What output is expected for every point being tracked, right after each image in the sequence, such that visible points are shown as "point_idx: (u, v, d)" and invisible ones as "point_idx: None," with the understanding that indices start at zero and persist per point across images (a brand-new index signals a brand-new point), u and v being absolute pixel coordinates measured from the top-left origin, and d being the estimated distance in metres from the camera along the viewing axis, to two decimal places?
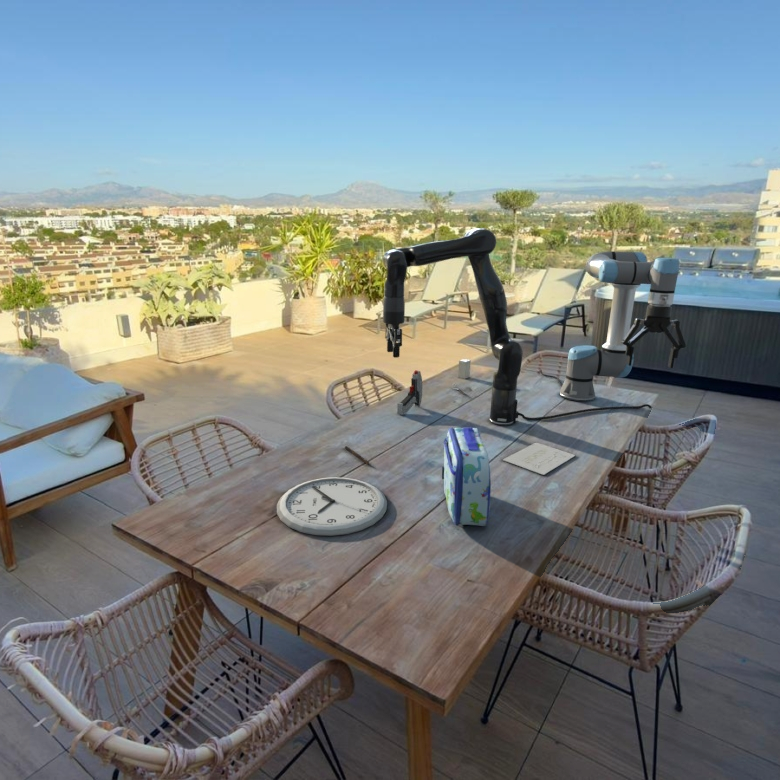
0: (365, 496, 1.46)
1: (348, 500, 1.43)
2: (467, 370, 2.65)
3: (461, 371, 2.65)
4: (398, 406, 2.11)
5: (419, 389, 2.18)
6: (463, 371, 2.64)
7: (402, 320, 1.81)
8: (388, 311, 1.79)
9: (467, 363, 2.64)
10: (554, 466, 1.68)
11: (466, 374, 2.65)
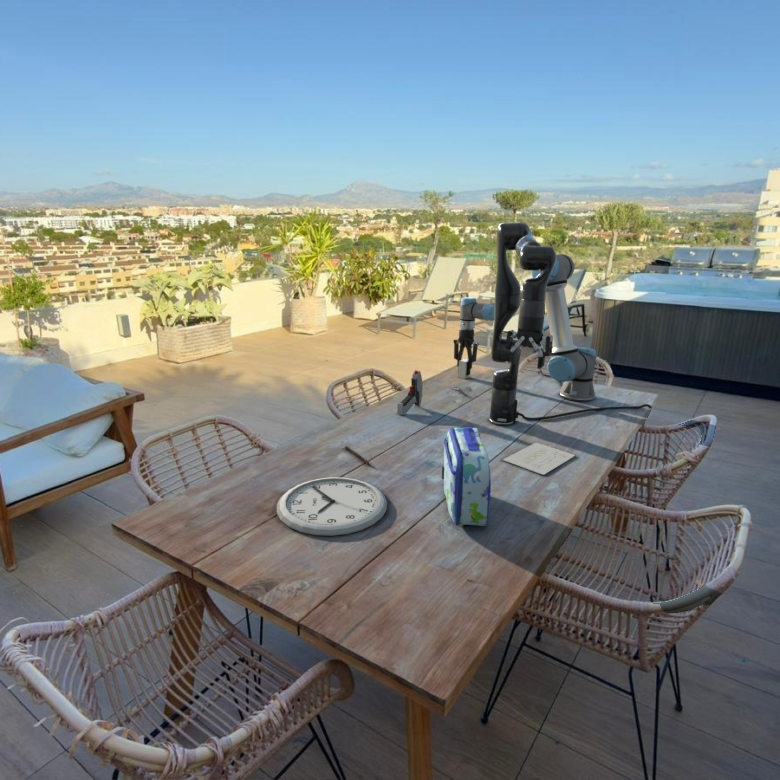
0: (365, 496, 1.46)
1: (348, 500, 1.43)
2: None
3: (461, 371, 2.65)
4: (398, 406, 2.11)
5: (419, 389, 2.18)
6: (463, 371, 2.64)
7: (518, 325, 1.59)
8: None
9: None
10: (554, 466, 1.68)
11: None
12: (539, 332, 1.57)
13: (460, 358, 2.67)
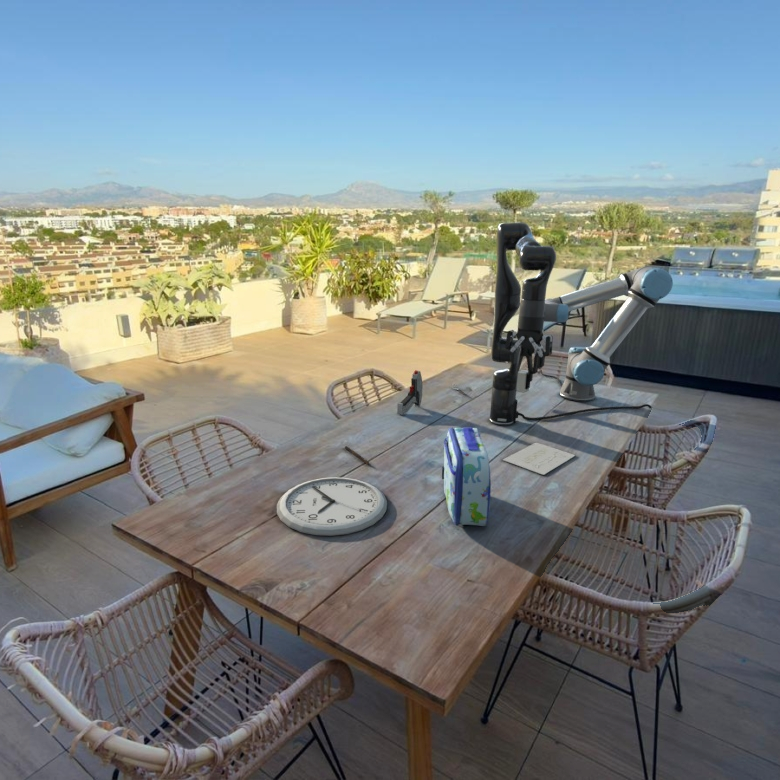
0: (365, 496, 1.46)
1: (348, 500, 1.43)
2: None
3: (519, 384, 2.27)
4: (398, 406, 2.11)
5: (419, 389, 2.18)
6: (522, 384, 2.26)
7: (518, 325, 1.59)
8: None
9: None
10: (554, 466, 1.68)
11: None
12: (539, 332, 1.57)
13: (518, 369, 2.29)
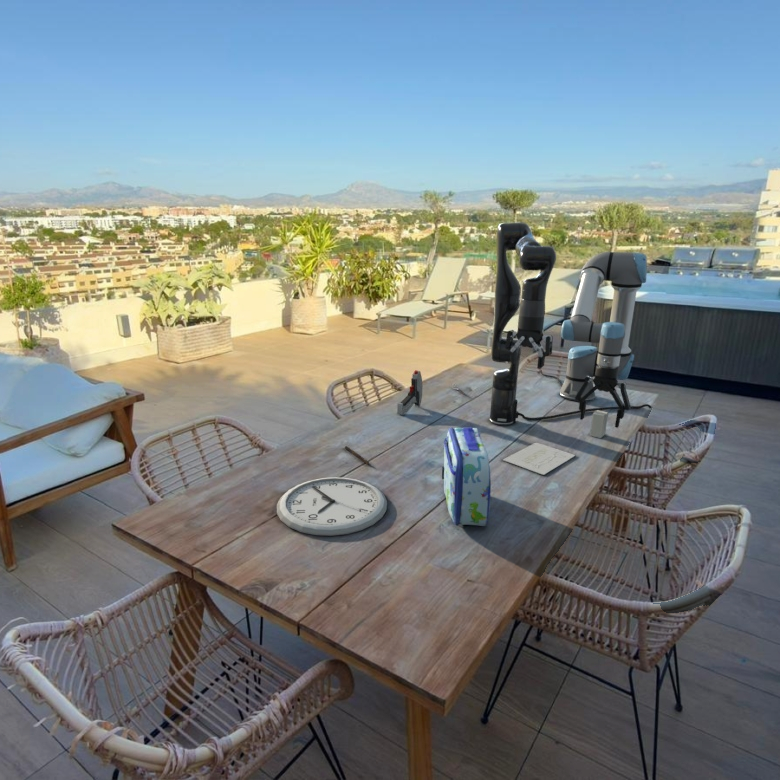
0: (365, 496, 1.46)
1: (348, 500, 1.43)
2: (603, 426, 1.92)
3: (595, 427, 1.92)
4: (398, 406, 2.11)
5: (419, 389, 2.18)
6: (599, 428, 1.91)
7: (518, 325, 1.59)
8: None
9: (605, 417, 1.91)
10: (554, 466, 1.68)
11: (602, 432, 1.92)
12: (539, 332, 1.57)
13: None
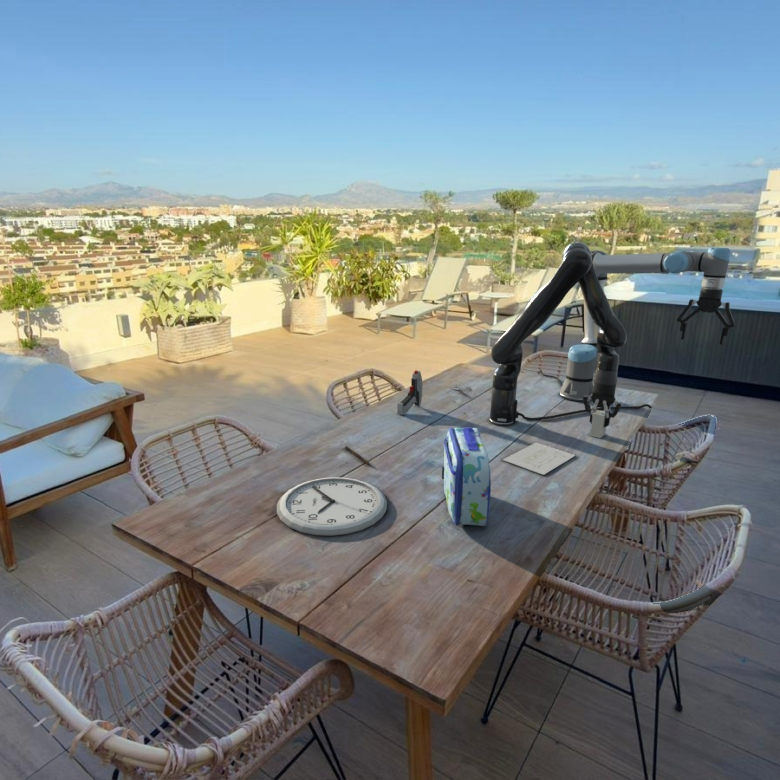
0: (365, 496, 1.46)
1: (348, 500, 1.43)
2: (603, 426, 1.92)
3: (595, 427, 1.92)
4: (398, 406, 2.11)
5: (419, 389, 2.18)
6: (599, 428, 1.91)
7: (594, 390, 1.90)
8: None
9: None
10: (554, 466, 1.68)
11: (602, 432, 1.92)
12: (612, 396, 1.88)
13: None
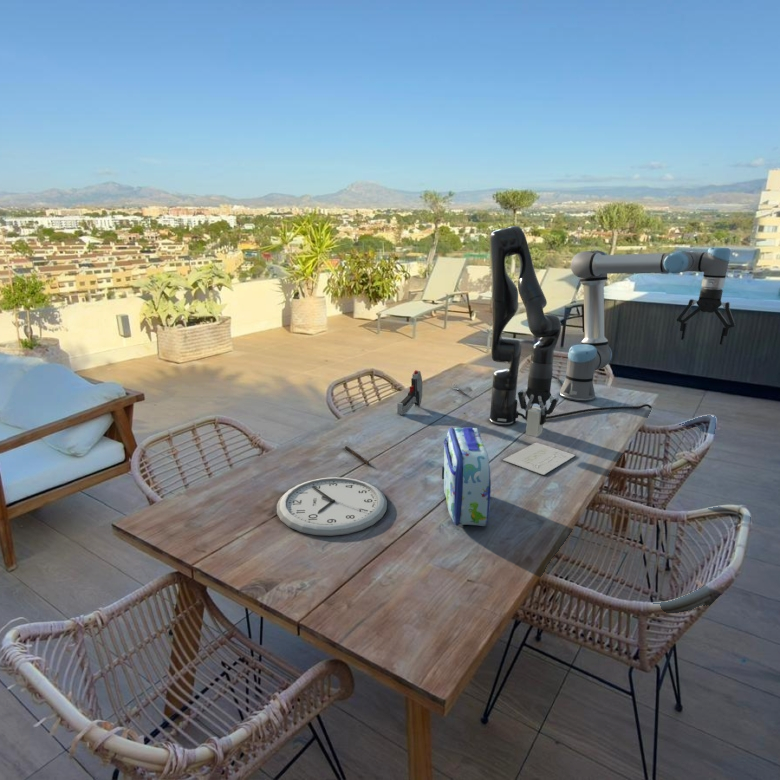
0: (365, 496, 1.46)
1: (348, 500, 1.43)
2: None
3: (531, 425, 1.78)
4: (398, 406, 2.11)
5: (419, 389, 2.18)
6: (535, 426, 1.77)
7: (528, 385, 1.75)
8: None
9: None
10: (554, 466, 1.68)
11: (538, 431, 1.78)
12: (547, 391, 1.73)
13: None
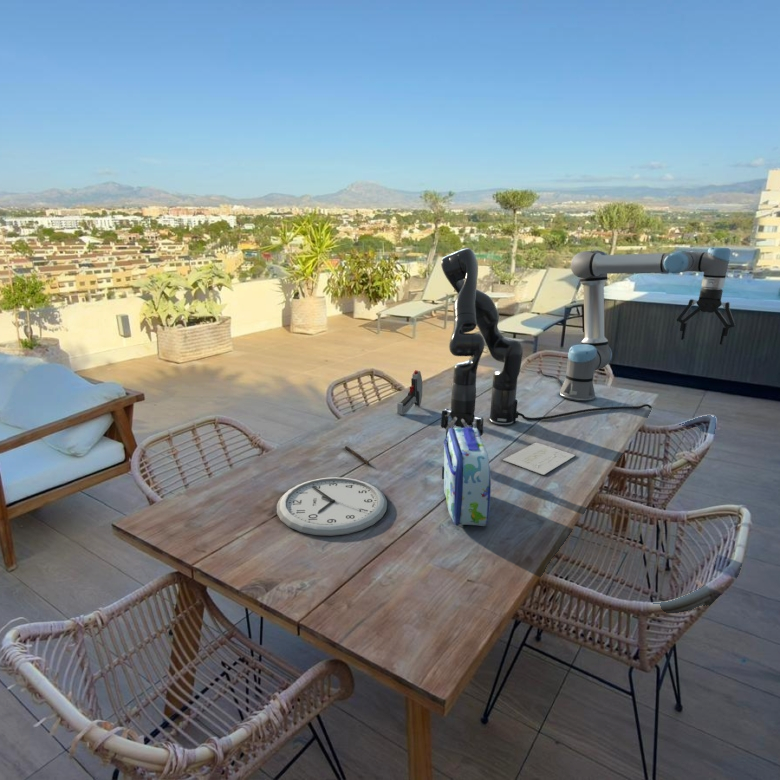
0: (365, 496, 1.46)
1: (348, 500, 1.43)
2: None
3: None
4: (398, 406, 2.11)
5: (419, 389, 2.18)
6: None
7: (451, 406, 1.64)
8: None
9: None
10: (554, 466, 1.68)
11: None
12: (470, 414, 1.62)
13: None
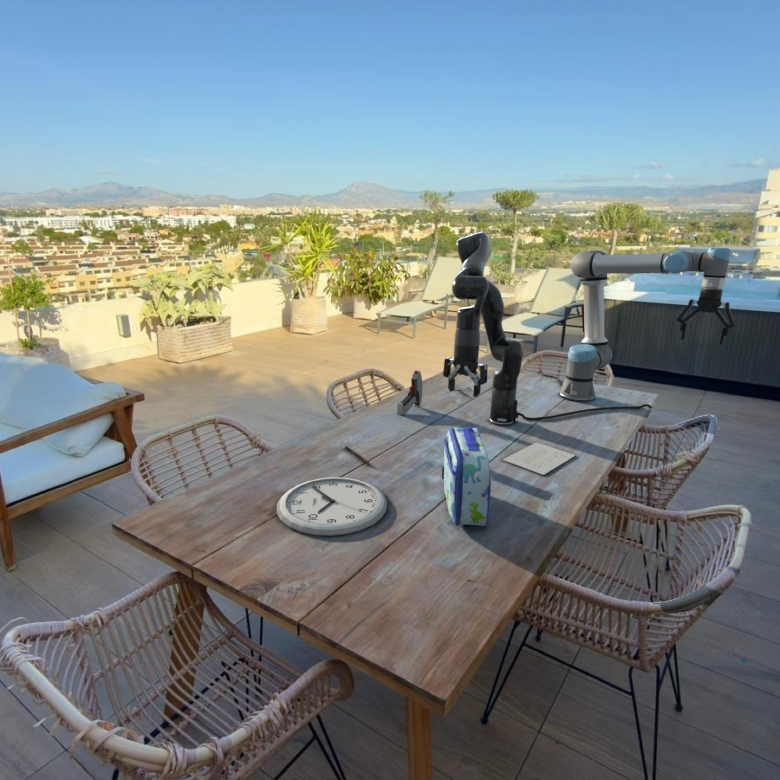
0: (365, 496, 1.46)
1: (348, 500, 1.43)
2: None
3: None
4: (398, 406, 2.11)
5: (419, 389, 2.18)
6: None
7: (454, 353, 1.59)
8: None
9: None
10: (554, 466, 1.68)
11: None
12: (474, 361, 1.57)
13: None
